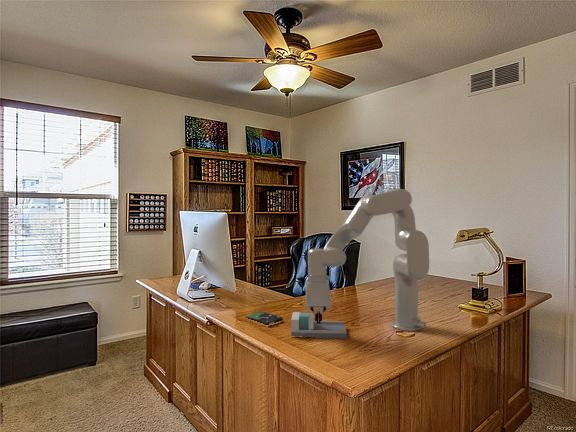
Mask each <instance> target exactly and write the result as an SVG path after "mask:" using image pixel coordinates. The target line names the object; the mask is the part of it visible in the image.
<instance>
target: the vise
mask: <svg viewBox="0 0 576 432" xmlns="http://www.w3.org/2000/svg"><path fill="white" fill-rule="evenodd" d="M299 313H301V312H300V311H292V315H291V319H290V320H291V321H290V326H291V327H290V329H291V330H290V331H291V332H290V335H291V336H302V337H315V338H314V339H347V333H348V332H347V329H346V327H345V321H338V320H337V321H335V320H334V321H333V320H322V321H321V324H319V323H318V324H317V321H315V320H314V330H299ZM291 336H290V337H291Z"/></svg>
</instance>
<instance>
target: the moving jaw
mask: <svg viewBox="0 0 576 432" xmlns="http://www.w3.org/2000/svg"><path fill="white" fill-rule="evenodd" d="M308 313H309V330H314V321H315V314H314V312H308Z"/></svg>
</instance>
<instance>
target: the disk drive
mask: <svg viewBox="0 0 576 432" xmlns="http://www.w3.org/2000/svg"><path fill="white" fill-rule="evenodd" d="M245 318H248V319H251V320H254V321H257V322H260V323H263V324H265V325H269V324H273V323H276V322H279V321H282V320H283V321H284V319H283V316H280V315H279V316H278V315H276V314H272V313H268V312H265V311H258V312H254V313H252V314H250V315H249V314H248V315H245ZM245 318H244V319H245Z"/></svg>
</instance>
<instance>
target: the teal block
mask: <svg viewBox="0 0 576 432" xmlns="http://www.w3.org/2000/svg"><path fill="white" fill-rule="evenodd" d="M309 313H310V312H300V313H299V330H309Z"/></svg>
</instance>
